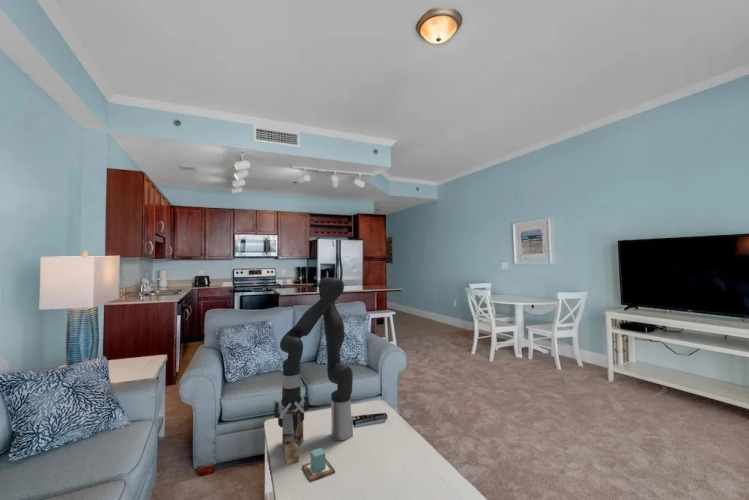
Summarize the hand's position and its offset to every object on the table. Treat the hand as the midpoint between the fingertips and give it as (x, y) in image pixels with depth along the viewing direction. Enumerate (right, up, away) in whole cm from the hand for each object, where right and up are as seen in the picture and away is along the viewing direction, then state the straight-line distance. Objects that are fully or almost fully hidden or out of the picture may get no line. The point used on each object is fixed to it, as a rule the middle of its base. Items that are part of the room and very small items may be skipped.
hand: (291, 423), depth 139 cm
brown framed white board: (+12, -15, -7) cm, 21 cm away
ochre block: (0, -15, 0) cm, 15 cm away
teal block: (+12, -14, -7) cm, 20 cm away
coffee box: (-2, -16, +11) cm, 19 cm away
